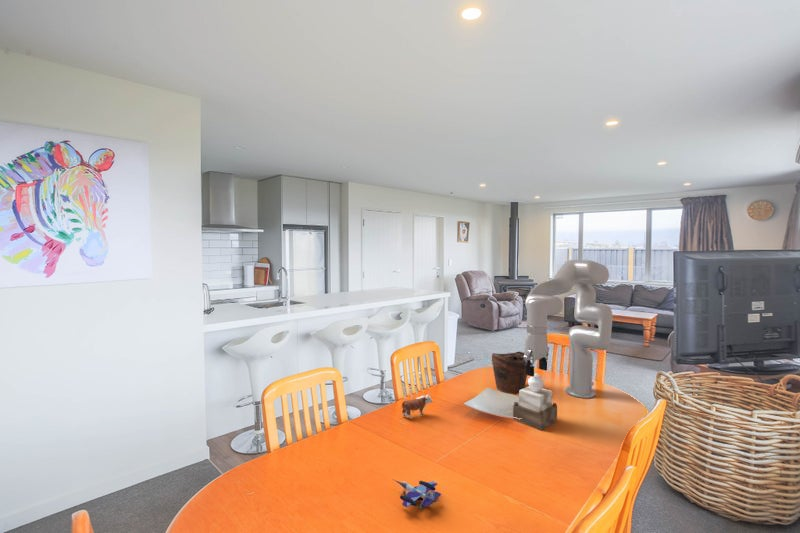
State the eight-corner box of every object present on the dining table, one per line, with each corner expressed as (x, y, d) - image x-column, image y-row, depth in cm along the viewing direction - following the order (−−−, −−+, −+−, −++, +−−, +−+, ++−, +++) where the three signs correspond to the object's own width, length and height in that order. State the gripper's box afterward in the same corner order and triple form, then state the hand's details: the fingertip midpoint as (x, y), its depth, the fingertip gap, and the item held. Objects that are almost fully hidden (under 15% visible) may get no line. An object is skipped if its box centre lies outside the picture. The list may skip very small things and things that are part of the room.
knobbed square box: (529, 411, 166) (529, 383, 165) (556, 421, 157) (557, 391, 156) (513, 419, 158) (513, 390, 158) (541, 430, 149) (541, 399, 149)
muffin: (529, 386, 161) (529, 369, 161) (545, 389, 158) (545, 372, 158) (525, 391, 156) (526, 374, 156) (542, 394, 153) (542, 376, 152)
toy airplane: (389, 486, 115) (389, 474, 115) (437, 485, 116) (437, 473, 116) (389, 517, 102) (389, 504, 102) (443, 516, 103) (443, 503, 102)
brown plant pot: (535, 385, 196) (535, 349, 195) (524, 399, 179) (524, 359, 178) (499, 379, 206) (499, 345, 205) (486, 392, 189) (485, 354, 188)
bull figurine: (434, 415, 162) (434, 395, 162) (403, 420, 158) (403, 400, 157) (429, 411, 167) (429, 392, 166) (399, 416, 162) (399, 396, 161)
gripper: (539, 324, 164) (539, 365, 165) (516, 331, 153) (515, 375, 154) (557, 327, 159) (556, 369, 160) (534, 335, 147) (533, 380, 148)
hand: (536, 372), depth 157 cm, fingers open, 9 cm apart
